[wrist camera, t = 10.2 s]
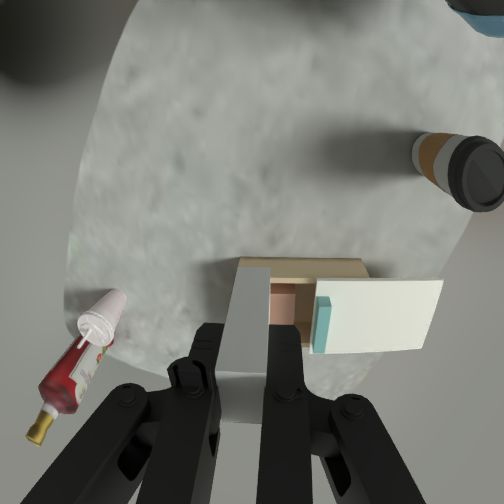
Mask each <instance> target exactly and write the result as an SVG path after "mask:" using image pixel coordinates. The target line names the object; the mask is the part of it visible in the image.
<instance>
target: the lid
mask: <svg viewBox="0 0 504 504" xmlns="http://www.w3.org/2000/svg"><path fill="white" fill-rule="evenodd" d="M443 281H444V280H443V279H442V278H317V279H316V289H315V299H314V309H313V318H312V326H311V335H310V343H309V354H335V353H363V352H382V351H397V350H409V349H420V348H422V345H423V343H424V340H425V337H426V334H427V332H428V328H429V326H430V323H431V320H432V317H433V314H434V311H435V308H436V305H437V302H438V298H439V295H440V292H441V288H442V285H443Z"/></svg>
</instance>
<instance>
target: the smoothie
mask: <svg viewBox="0 0 504 504" xmlns="http://www.w3.org/2000/svg"><path fill="white" fill-rule="evenodd" d="M126 303H127V298H126V296H125V294H124V293H123V292H122V291H120V290H118V289H112V290H110V291H109V292H108V293H107V294H106V295H104V296H103V297H102V298H101V299H100V300H99V301H98V302H97V303H96V304H94V305H93V306H92V307H91V308H90V309H89V310H88V311H85V312H83V313H82V314H81V315H80V317H79V318H78V320H77V326H78V329H79V331H80V333H81V334H82V336H83V338H82V340H81V341H80V343H79V344H78V346H77V348H78V349H80V348H81V346H82V345H83V343H84V342H85V340H87V341H89V342H90V343H92V344H94V345H97V346H107V345H108V344H110V342H111V341H112V340H113V338H114V331H115V328H116V326H117V323H118V321H119V319H120V316H121V314H122V312H123V309H124V307H125V305H126Z"/></svg>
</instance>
